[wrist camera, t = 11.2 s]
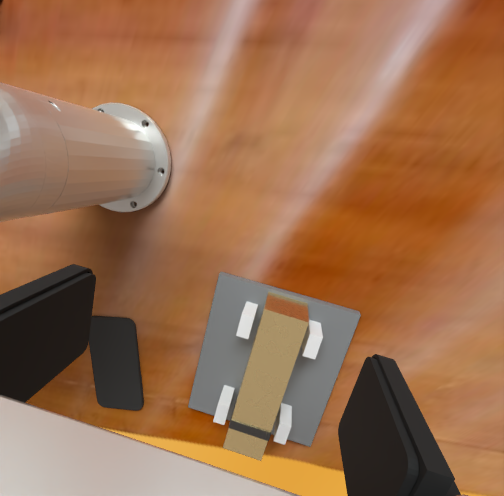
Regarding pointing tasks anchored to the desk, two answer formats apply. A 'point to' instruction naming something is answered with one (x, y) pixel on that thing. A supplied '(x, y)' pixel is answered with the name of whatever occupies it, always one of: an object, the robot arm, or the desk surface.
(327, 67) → the desk surface
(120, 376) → the phone
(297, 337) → the tan long bar
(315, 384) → the peg plate
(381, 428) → the robot arm
